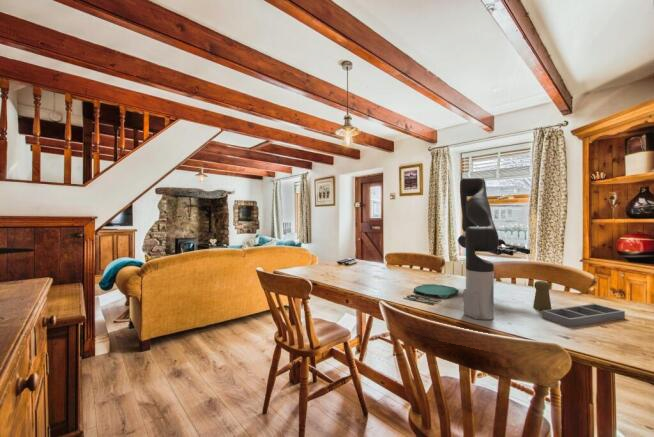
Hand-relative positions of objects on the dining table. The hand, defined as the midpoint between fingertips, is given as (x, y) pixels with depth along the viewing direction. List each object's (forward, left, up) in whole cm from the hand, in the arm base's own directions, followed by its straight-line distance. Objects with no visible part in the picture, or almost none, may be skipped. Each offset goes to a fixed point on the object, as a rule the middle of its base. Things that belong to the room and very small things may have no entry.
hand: (521, 252), depth 126 cm
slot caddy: (+4, -21, -21) cm, 30 cm away
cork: (0, -9, -22) cm, 23 cm away
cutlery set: (-29, +22, -22) cm, 43 cm away
